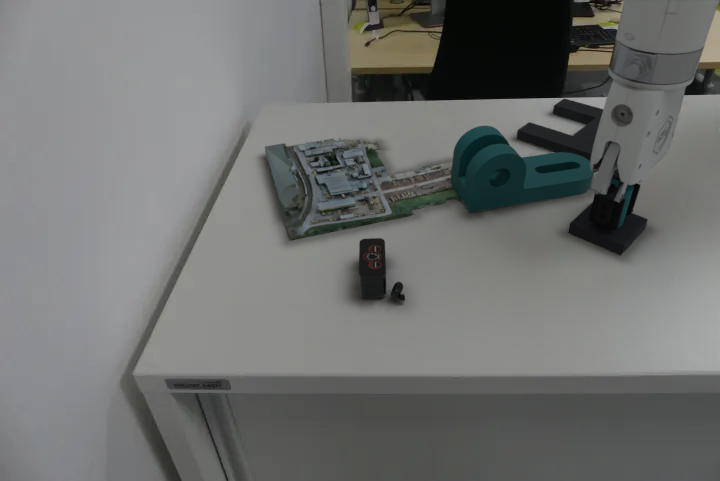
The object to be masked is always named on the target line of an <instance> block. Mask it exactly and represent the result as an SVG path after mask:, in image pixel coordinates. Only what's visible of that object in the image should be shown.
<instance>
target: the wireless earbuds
mask: <svg viewBox="0 0 720 481" xmlns="http://www.w3.org/2000/svg"><path fill="white" fill-rule="evenodd" d="M358 243H359V245H358V246H359V247H358V249H359V252H358V280H359V292H360V295H361V297H363V298H365V299H367V298H369V299H371V298H384V297H385V296H386V295H387V289H388V288H387V261H386V241H385V239H383V238H381V237H376V238H375V237H371V238H362V239H360V240H359V242H358ZM403 290H404V283H403V282H401V281H396V282H395V283H394V284H393V286H392V289H391V291H390V294H389V296H390V298H391V299H393V300H395V301H397V300H398V301H400V302H404V301H406V294H404V293H402V292H403Z"/></svg>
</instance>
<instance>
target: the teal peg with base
mask: <svg viewBox="0 0 720 481" xmlns="http://www.w3.org/2000/svg"><path fill="white" fill-rule="evenodd" d="M619 182H620V181H618V180H615V179H613V178H612V179H611V182H610V183H612V184H615V185H616V186H617V188H618V185H619ZM633 188H634V185H628V184H627V187H626V190H625V193H624V196H623V199H626V201H625V205H624V208H623V212H622V215H621V219H620V222H619V225H618V228H617V229H616V230H610V229H608V228H605V227H603V226H600V225H598V224H595V223H593V222H591V221H589V215H590V211H591V206H592V202H590V204H589V205H587V207H585V208H584V209H583V210H582V211H581V212H580V213H579V214H578V215H577V216H576V217H575V218H573V220H571V222H569V226H568V230H567V234H568V235H571V236H573V237H576V238H578V239H581V240H583V241H585V242H588V243H590V244H592V245H595V246H597V247H599V248H602V249H603V250H607V251H609V252H611V253H613V254H616V255H619V256H622V255H623V254H624V253H625V252H626V251H627V250H628V249H629V247H631V245H632V244H633V243H634V242H635V241H636V240H637V239H638V238H639V236H640V235H641V234H642V233H643V232H644V231H645V229H646V227H647V224H648V222H649V219H648V218H646V217H643V216H641V215H638V214H635V213H634V212H632V213H631V214H630V215H626V212H627V209H628V205H629V202H630V199H631V195H632V192H633Z"/></svg>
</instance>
